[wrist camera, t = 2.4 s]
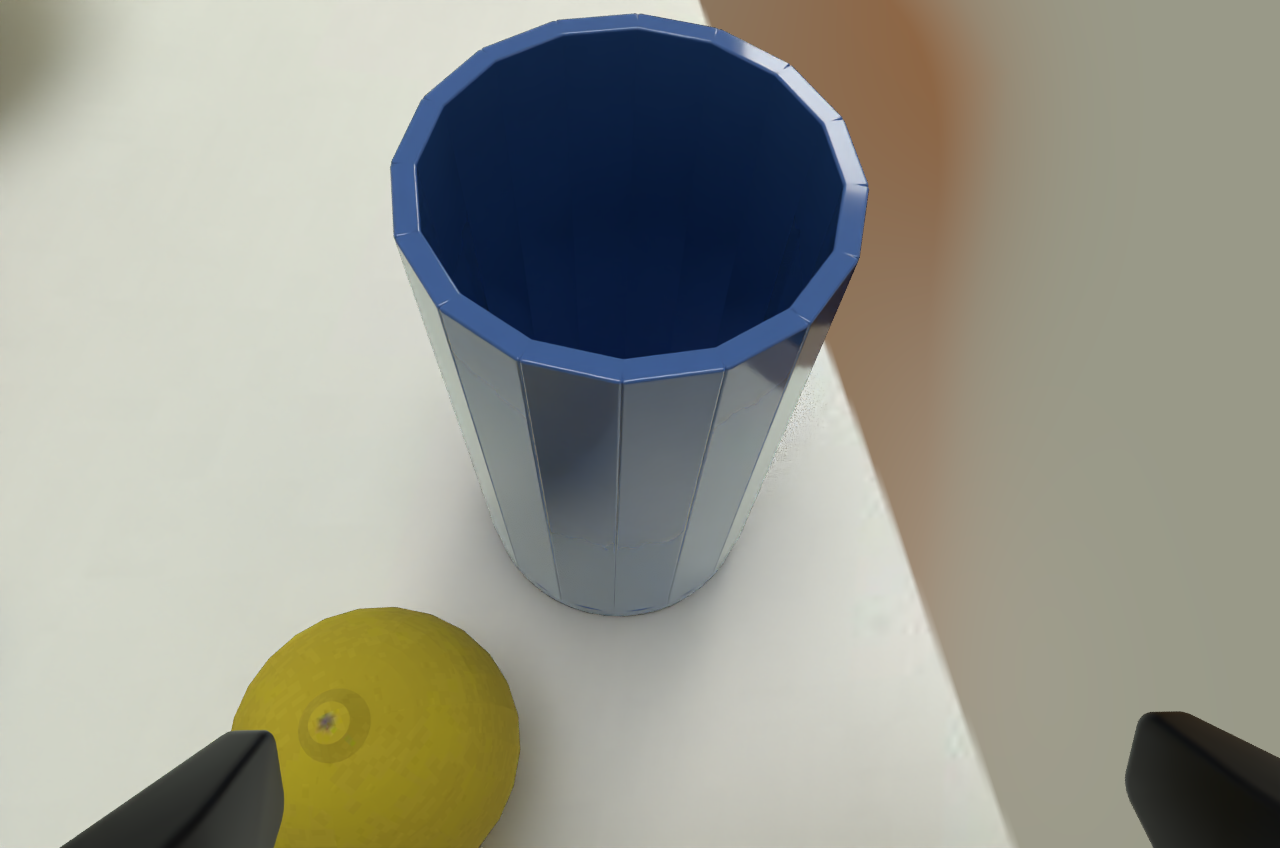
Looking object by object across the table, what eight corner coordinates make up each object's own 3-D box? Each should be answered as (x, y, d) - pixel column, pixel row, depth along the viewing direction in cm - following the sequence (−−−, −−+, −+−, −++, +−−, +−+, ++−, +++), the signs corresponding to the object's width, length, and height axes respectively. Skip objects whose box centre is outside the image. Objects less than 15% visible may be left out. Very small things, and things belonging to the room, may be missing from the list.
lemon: (424, 609, 23) (341, 500, 16) (578, 749, 21) (565, 701, 14) (260, 779, 21) (78, 744, 14) (418, 947, 19) (307, 1007, 12)
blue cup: (768, 594, 23) (930, 343, 12) (507, 636, 23) (401, 412, 11) (714, 370, 26) (799, -2, 15) (483, 400, 26) (382, 33, 14)
